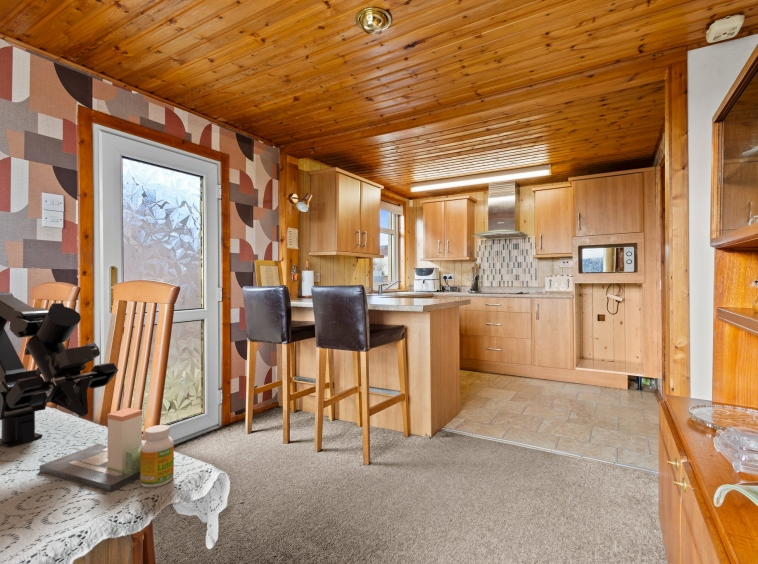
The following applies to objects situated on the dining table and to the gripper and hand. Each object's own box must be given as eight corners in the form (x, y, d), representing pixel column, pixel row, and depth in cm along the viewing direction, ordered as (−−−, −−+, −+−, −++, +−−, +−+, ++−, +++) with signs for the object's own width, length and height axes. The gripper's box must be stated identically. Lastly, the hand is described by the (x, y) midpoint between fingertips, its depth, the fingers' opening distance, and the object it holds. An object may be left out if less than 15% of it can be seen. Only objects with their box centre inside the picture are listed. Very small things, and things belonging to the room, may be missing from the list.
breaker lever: (107, 466, 76) (107, 414, 76) (127, 457, 80) (127, 407, 80) (121, 470, 75) (122, 416, 75) (141, 461, 78) (142, 410, 78)
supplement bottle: (158, 490, 70) (159, 435, 70) (132, 486, 71) (133, 432, 71) (180, 475, 75) (180, 424, 75) (155, 472, 77) (155, 422, 77)
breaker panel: (39, 471, 77) (39, 445, 77) (97, 449, 87) (97, 425, 87) (110, 492, 69) (110, 462, 69) (164, 465, 79) (164, 439, 79)
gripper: (15, 338, 75) (51, 404, 71) (113, 327, 92) (146, 380, 88) (-9, 375, 78) (24, 440, 74) (90, 358, 95) (121, 410, 91)
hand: (85, 415), depth 82 cm, fingers closed
